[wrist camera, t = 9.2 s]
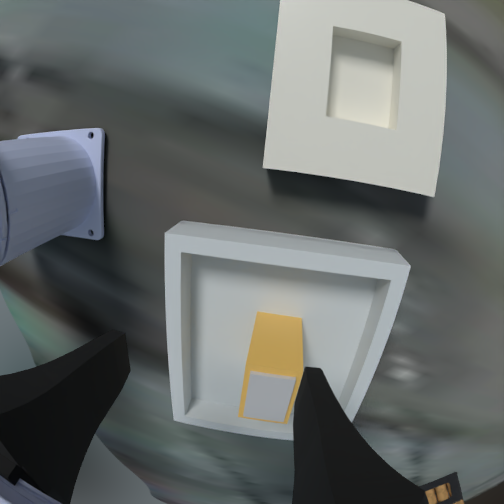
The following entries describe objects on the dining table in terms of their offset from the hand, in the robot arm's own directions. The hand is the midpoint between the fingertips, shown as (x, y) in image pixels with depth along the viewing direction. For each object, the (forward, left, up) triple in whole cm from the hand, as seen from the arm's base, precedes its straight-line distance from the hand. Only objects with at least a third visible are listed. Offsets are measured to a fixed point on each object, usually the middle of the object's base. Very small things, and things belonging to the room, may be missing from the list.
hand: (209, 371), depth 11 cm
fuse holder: (+6, +13, -10) cm, 17 cm away
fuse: (+3, -5, -9) cm, 10 cm away
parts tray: (+3, -5, -10) cm, 11 cm away
